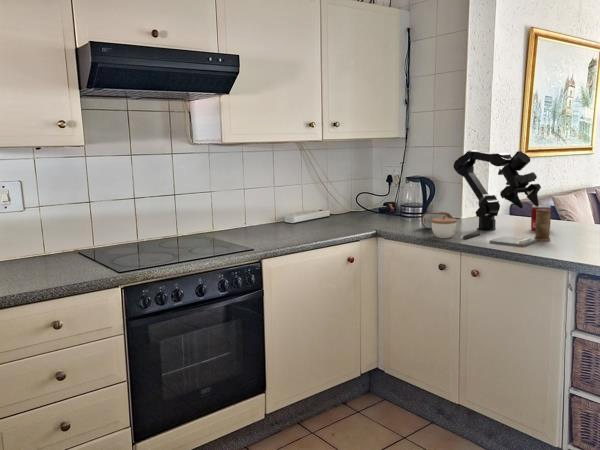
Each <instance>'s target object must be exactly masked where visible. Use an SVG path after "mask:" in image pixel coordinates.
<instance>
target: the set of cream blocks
mask: <svg viewBox="0 0 600 450" xmlns="http://www.w3.org/2000/svg"><path fill="white" fill-rule="evenodd" d="M524 238H525V239H522V240H519V243H520V244H524V243H527V242H529V241H531V239H532V238H531V237H524Z"/></svg>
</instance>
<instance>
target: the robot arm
mask: <svg viewBox="0 0 600 450" xmlns="http://www.w3.org/2000/svg"><path fill="white" fill-rule="evenodd" d="M476 161H483V162H488V163H490V164H491V165H493V166H495V167H502V168H499V170H498V172H497V175H498V176H503V177H504V179H505V180H506V183H505V185H506V186H505V187H504V188H503V189H501V191H500V194H499V196H500V197H501V199H504V200H506V201H508V202H510V203H511V204H513V205H515V206H516V207H518V208H520V209H524V206H523V203H522V201H521V199H520V197H519V195H518V194H521V193H524V194H525V196H526V198H527V199H528V201H529V202H531V204H533V205H535V206H536V207H538V206H539V205H540V203H539V196H538V193H539V191H540V190H541V189H542V187H541V185H540V183H536V182H535V181H536V180H537V177H538V176H537V174H536V173H535V172H533V171H532V172H530V173H525V174H520V173H519V172H518V171H520V172H521V171H522V170H523V169H524V168H525V167H526V166H527V165H528V164H529V163H531V158H530V156H529V155H528V154H526V153H524V152H523V151H522V150H517V151H516V152H515V154H514V155H513V156H512V155H511V153H510V152H500V153H493V152H485V151H479V150H477V149H469V150H467V151H466V152H465V153H464V154H463V155H462V156H460V157H458V158H457V159H456V160H455V161H454V163H453V169H454V170H455V172H456V173H457V174H458V175H460V176H461V177H463V178H464V180H465V181H466V182H467V184H468V185H469V187H470V189H471V190H472V192H473V193H474V195H475V197H476V198H477V199H478V208H477V210H476V211H475V216H476V217H478V227H476V229H477V230H481V231H494V230H496V229H497V227H496V219H495V217H498V215H499V211H500V208H501V204H500V200H498V198H497V195H495V194H493V195H492V194H491V195H490V194H489V193H488V192H487V190H486V189H485V187H484V186H483V184H482V183H481V181H480V179H479V178H478V177H477V175H476V174H475V172H474V165H475V163H476ZM532 182H535V183H532ZM530 183H531V184H530Z"/></svg>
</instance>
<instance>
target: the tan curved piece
mask: <svg viewBox="0 0 600 450" xmlns="http://www.w3.org/2000/svg"><path fill="white" fill-rule="evenodd" d="M443 216H445V218H453V216H452V215H451V214H450V213H449V212H446V211H432V210H431V211H427V212H424V213H423V215H422V217H421V224H422V226H423V227H424V228H426V229H428V228H431V229H430V230H432V222H431V219H434V218H443Z"/></svg>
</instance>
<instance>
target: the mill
mask: <svg viewBox="0 0 600 450" xmlns="http://www.w3.org/2000/svg"><path fill="white" fill-rule="evenodd" d="M550 212H551V213H552V209H551V210H548V209H537V210H536V231H535V236H534V237H533V239H537V242H543V243H544V242H545V243H546V242H551V237H550V229H551V220H550Z"/></svg>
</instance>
